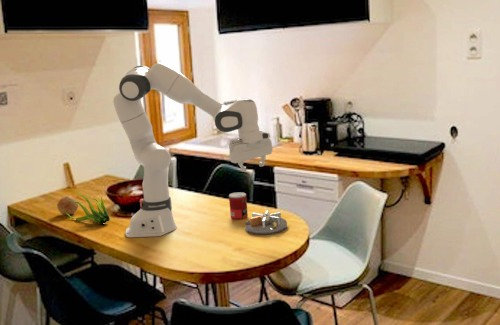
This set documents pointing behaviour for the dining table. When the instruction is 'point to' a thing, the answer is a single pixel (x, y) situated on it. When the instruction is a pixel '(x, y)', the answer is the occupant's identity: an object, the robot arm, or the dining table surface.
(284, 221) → the disc
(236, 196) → the canned food
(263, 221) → the finned rotor disc
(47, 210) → the dining table surface
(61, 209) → the onion
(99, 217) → the decorative plant
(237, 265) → the dining table surface
